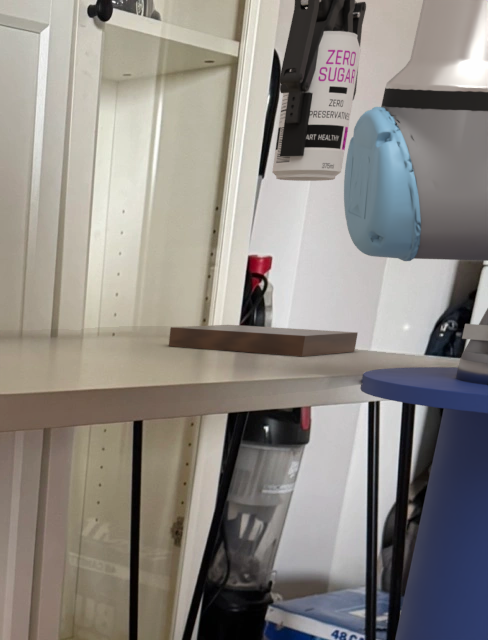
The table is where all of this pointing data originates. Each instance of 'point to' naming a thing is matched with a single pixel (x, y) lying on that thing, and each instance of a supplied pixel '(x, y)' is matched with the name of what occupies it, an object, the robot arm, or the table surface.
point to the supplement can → (324, 112)
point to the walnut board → (263, 339)
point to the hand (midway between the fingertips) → (308, 158)
